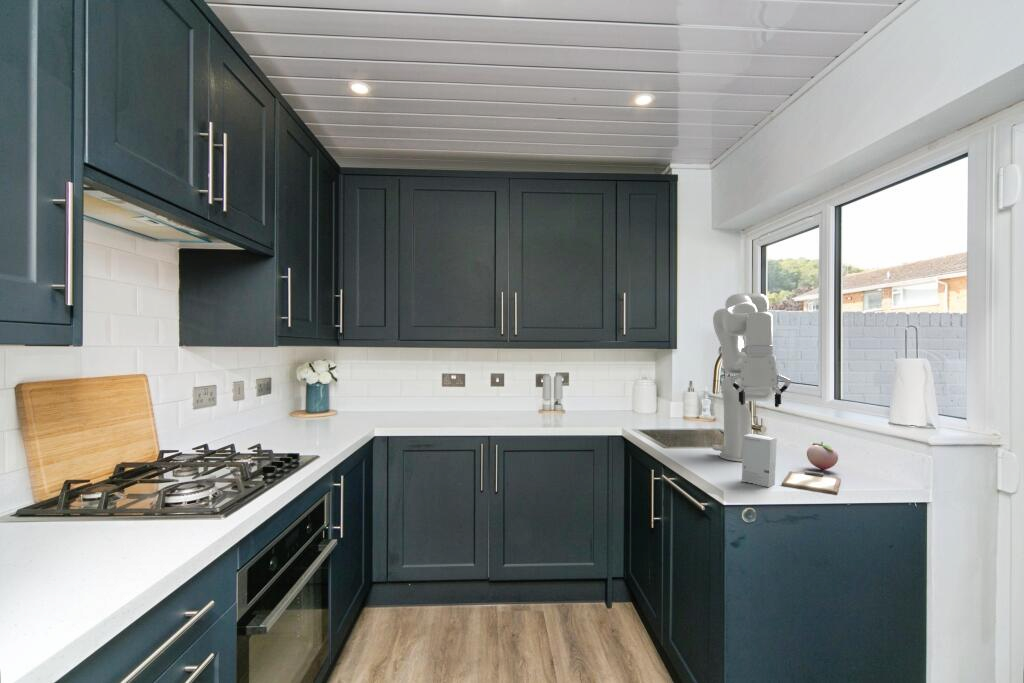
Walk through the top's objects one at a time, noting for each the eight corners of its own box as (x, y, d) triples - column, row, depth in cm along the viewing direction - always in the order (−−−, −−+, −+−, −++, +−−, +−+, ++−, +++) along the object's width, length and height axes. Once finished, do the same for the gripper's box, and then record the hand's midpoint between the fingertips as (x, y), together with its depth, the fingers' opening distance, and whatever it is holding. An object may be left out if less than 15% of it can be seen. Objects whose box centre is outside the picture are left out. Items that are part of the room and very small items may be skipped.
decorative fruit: (800, 467, 165) (800, 439, 165) (818, 466, 167) (818, 438, 167) (824, 474, 156) (823, 445, 156) (843, 473, 158) (843, 443, 158)
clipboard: (781, 485, 144) (781, 479, 144) (789, 473, 157) (789, 468, 157) (836, 494, 135) (836, 488, 135) (840, 481, 148) (840, 475, 148)
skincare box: (741, 482, 147) (741, 435, 147) (748, 478, 151) (748, 432, 151) (770, 488, 141) (770, 439, 141) (777, 484, 145) (776, 436, 145)
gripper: (726, 351, 149) (727, 404, 149) (789, 351, 138) (789, 409, 138) (732, 351, 155) (732, 402, 155) (792, 351, 144) (793, 406, 144)
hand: (759, 405), depth 146 cm, fingers open, 9 cm apart
